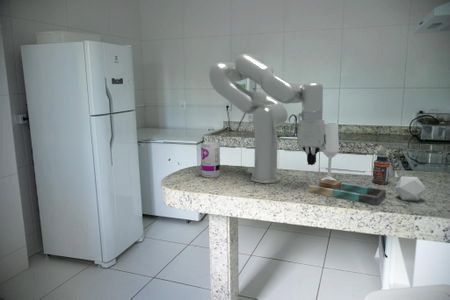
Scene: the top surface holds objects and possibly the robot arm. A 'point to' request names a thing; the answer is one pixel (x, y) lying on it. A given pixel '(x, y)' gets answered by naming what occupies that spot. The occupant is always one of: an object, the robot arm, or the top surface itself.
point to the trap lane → (351, 196)
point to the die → (410, 188)
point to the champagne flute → (331, 145)
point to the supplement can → (210, 159)
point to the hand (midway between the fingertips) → (311, 164)
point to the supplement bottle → (381, 170)
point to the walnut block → (330, 184)
